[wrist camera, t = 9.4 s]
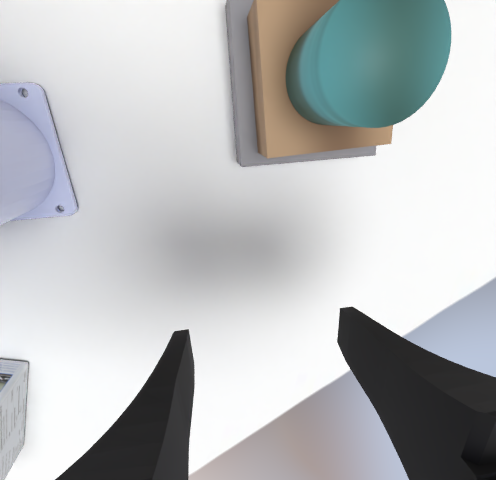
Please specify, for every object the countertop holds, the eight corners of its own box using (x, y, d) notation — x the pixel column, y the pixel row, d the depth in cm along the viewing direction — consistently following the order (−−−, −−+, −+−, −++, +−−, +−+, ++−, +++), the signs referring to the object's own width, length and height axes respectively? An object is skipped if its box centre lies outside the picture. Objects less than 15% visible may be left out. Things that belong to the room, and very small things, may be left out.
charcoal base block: (236, 161, 21) (241, 166, 18) (225, 9, 18) (228, -12, 15) (353, 151, 22) (375, 155, 19) (364, 5, 19) (392, -15, 16)
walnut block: (257, 152, 18) (267, 158, 15) (247, 16, 15) (256, -6, 13) (363, 140, 19) (390, 143, 16) (371, 7, 16) (406, -16, 13)
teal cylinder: (285, 127, 15) (318, 132, 10) (285, 21, 13) (323, -30, 9) (369, 122, 15) (436, 123, 11) (379, 18, 13) (465, -34, 9)
